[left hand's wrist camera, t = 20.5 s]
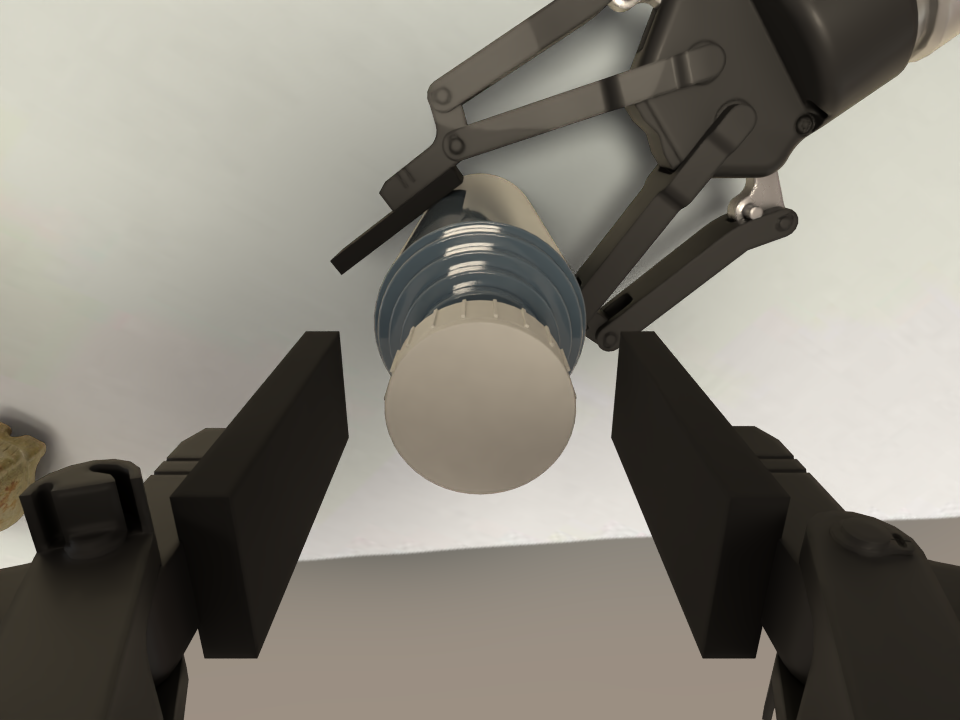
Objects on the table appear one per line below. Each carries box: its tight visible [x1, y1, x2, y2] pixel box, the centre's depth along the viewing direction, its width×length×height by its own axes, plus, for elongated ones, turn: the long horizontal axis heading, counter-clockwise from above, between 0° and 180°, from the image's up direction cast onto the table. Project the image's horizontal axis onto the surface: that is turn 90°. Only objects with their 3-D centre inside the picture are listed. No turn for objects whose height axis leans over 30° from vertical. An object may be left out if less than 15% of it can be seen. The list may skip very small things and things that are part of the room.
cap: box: [384, 299, 576, 494], centre depth 14 cm, size 4×4×2 cm
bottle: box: [374, 173, 586, 376], centre depth 23 cm, size 6×6×21 cm
